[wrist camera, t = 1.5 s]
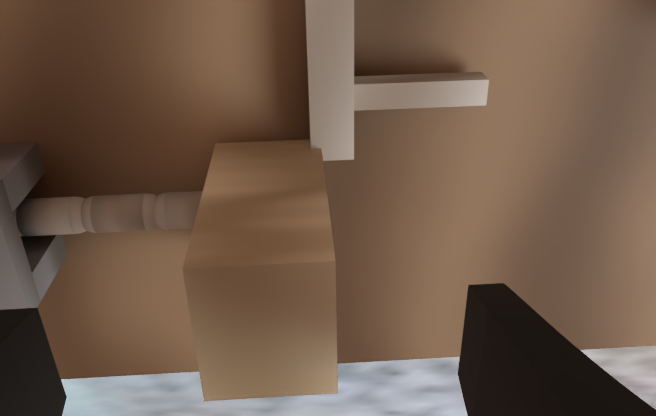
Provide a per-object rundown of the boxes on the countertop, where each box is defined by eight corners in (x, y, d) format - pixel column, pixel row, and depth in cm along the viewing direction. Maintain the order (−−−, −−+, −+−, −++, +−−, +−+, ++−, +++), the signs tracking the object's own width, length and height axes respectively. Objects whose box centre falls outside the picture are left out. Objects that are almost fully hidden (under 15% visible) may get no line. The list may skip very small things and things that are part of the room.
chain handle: (494, -51, 13) (610, -7, 8) (463, 237, 16) (533, 381, 12) (-417, -25, 12) (-853, 39, 7) (-244, 272, 15) (-467, 440, 11)
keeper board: (867, -89, 14) (1059, -76, 11) (718, 309, 20) (810, 403, 17) (-173, -61, 13) (-341, -36, 10) (-14, 349, 19) (-82, 458, 16)
